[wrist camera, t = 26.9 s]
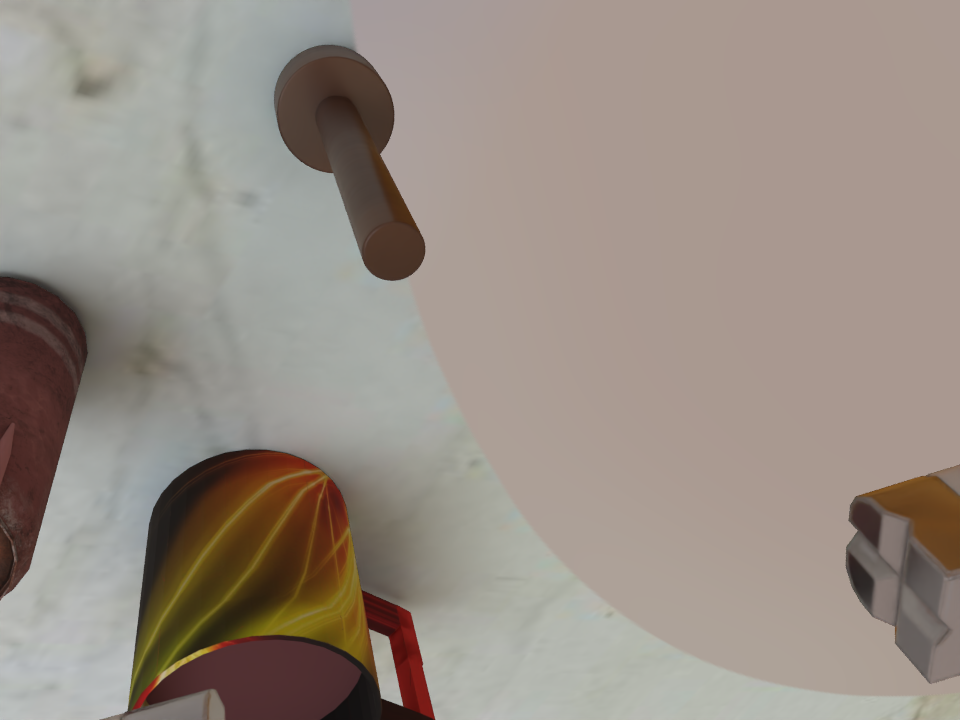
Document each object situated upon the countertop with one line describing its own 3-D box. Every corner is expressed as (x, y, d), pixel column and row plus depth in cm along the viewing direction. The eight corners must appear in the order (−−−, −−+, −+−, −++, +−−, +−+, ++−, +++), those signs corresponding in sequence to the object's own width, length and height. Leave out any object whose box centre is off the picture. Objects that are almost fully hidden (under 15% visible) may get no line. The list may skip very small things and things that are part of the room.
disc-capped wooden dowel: (260, 57, 35) (283, 189, 21) (372, 34, 35) (465, 147, 22) (290, 166, 37) (328, 349, 23) (394, 143, 37) (491, 307, 24)
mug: (403, 608, 50) (448, 800, 40) (139, 600, 45) (113, 816, 35) (445, 465, 46) (507, 638, 36) (160, 440, 41) (138, 632, 31)
